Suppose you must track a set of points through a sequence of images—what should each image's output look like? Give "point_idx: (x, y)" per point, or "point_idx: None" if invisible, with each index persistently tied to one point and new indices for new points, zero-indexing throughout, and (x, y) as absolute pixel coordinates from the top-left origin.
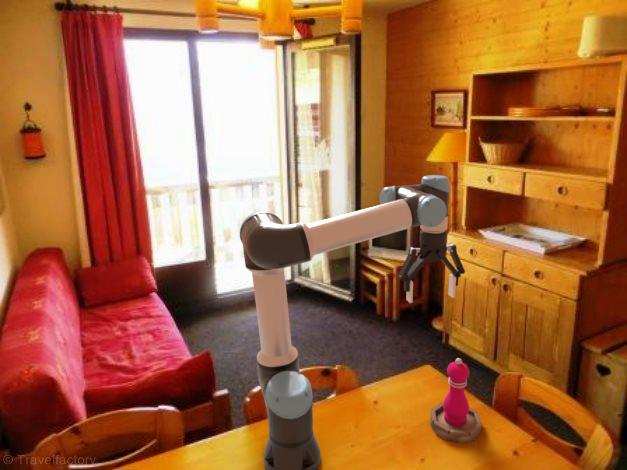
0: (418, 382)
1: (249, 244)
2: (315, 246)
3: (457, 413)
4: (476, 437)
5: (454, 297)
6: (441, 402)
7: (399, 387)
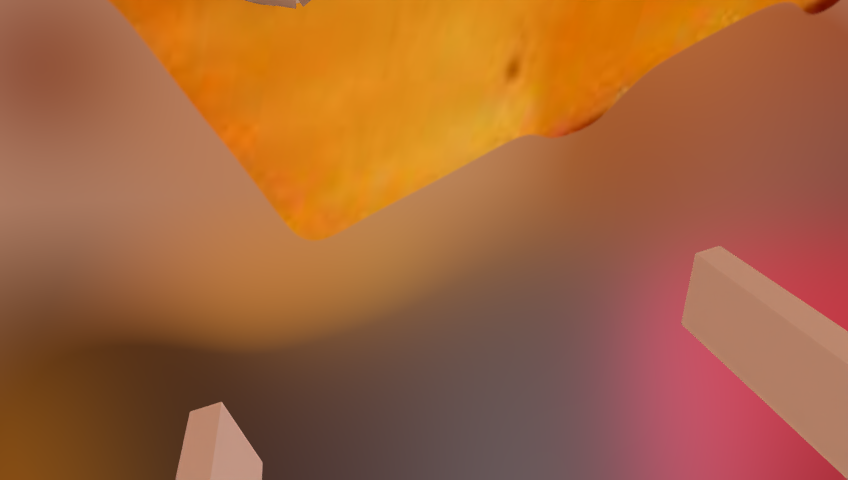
0: (353, 176)
1: None
2: None
3: None
4: None
5: (195, 411)
6: (305, 3)
7: (420, 148)
